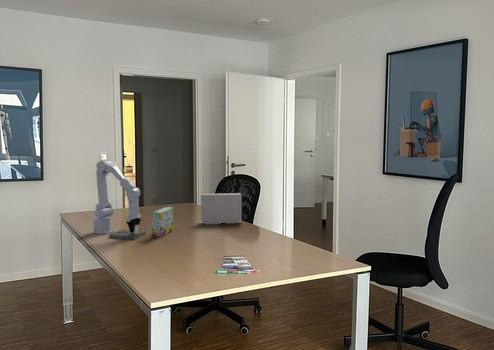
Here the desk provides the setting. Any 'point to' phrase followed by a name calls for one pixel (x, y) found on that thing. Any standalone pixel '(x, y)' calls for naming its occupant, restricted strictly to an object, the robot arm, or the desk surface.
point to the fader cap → (135, 229)
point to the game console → (221, 208)
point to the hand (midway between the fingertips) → (133, 231)
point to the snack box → (162, 222)
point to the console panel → (126, 235)
